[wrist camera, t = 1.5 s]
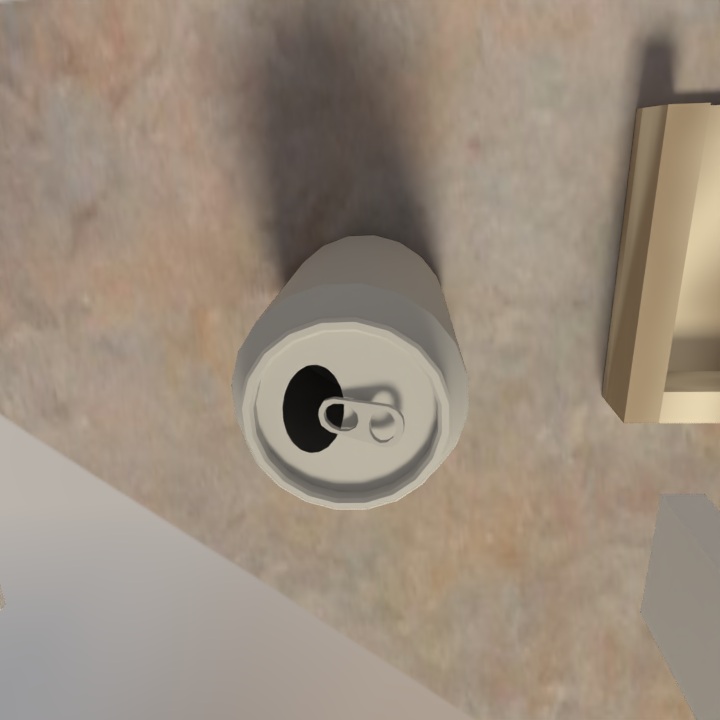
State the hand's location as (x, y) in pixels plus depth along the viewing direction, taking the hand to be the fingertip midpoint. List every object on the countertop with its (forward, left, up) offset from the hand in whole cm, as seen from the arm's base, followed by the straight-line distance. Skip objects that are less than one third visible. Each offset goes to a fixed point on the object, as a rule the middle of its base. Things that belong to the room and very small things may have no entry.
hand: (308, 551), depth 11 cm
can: (0, 0, -18) cm, 18 cm away
